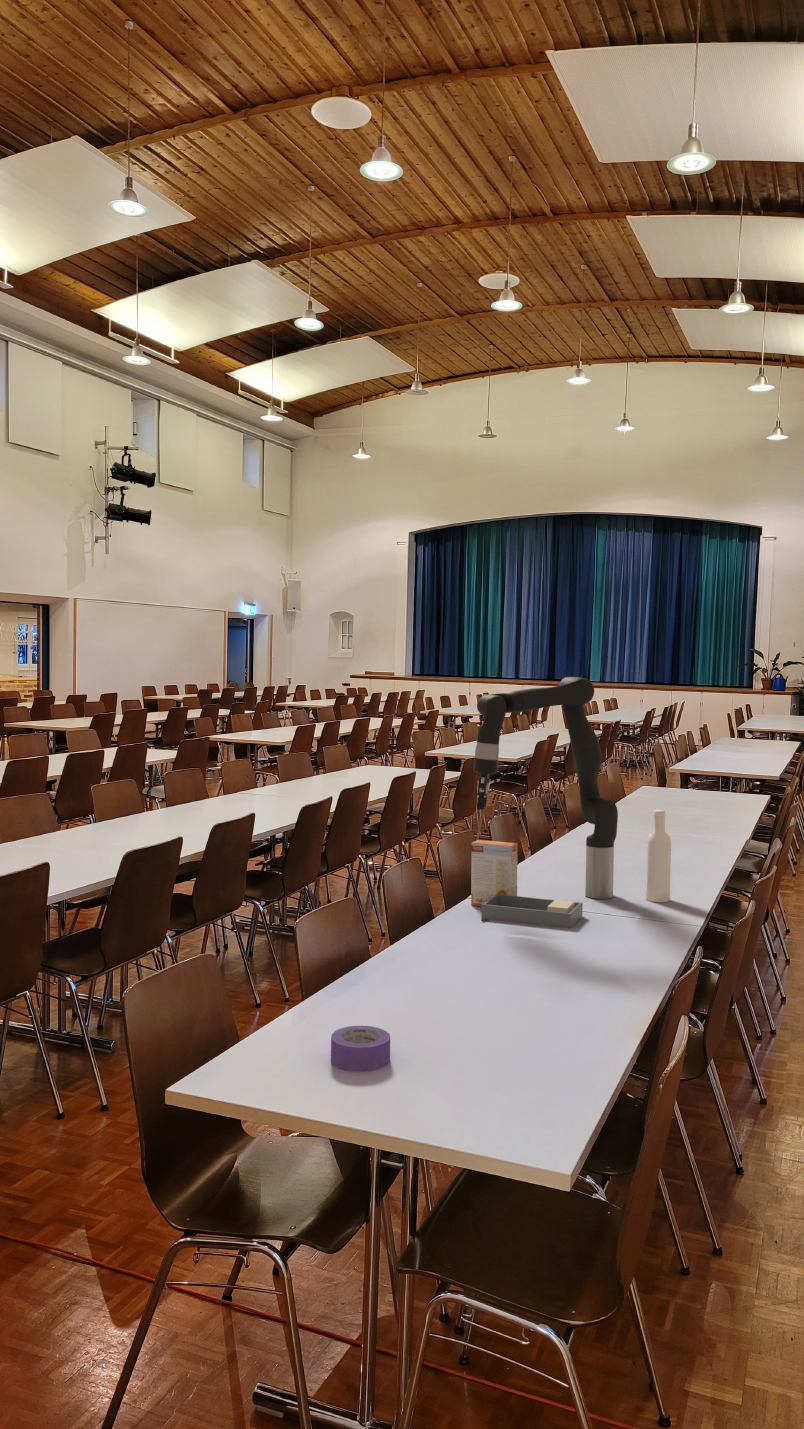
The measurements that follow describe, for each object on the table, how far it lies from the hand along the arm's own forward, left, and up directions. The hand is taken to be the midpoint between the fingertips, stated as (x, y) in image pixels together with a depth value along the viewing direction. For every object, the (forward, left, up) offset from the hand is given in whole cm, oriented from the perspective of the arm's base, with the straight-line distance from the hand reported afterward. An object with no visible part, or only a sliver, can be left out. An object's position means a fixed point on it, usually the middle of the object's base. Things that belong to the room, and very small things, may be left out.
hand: (481, 808), depth 320 cm
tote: (+7, +19, -32) cm, 38 cm away
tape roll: (+125, +18, -33) cm, 131 cm away
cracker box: (-5, +3, -33) cm, 33 cm away
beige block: (+7, +28, -32) cm, 43 cm away
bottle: (-36, +50, -33) cm, 70 cm away
